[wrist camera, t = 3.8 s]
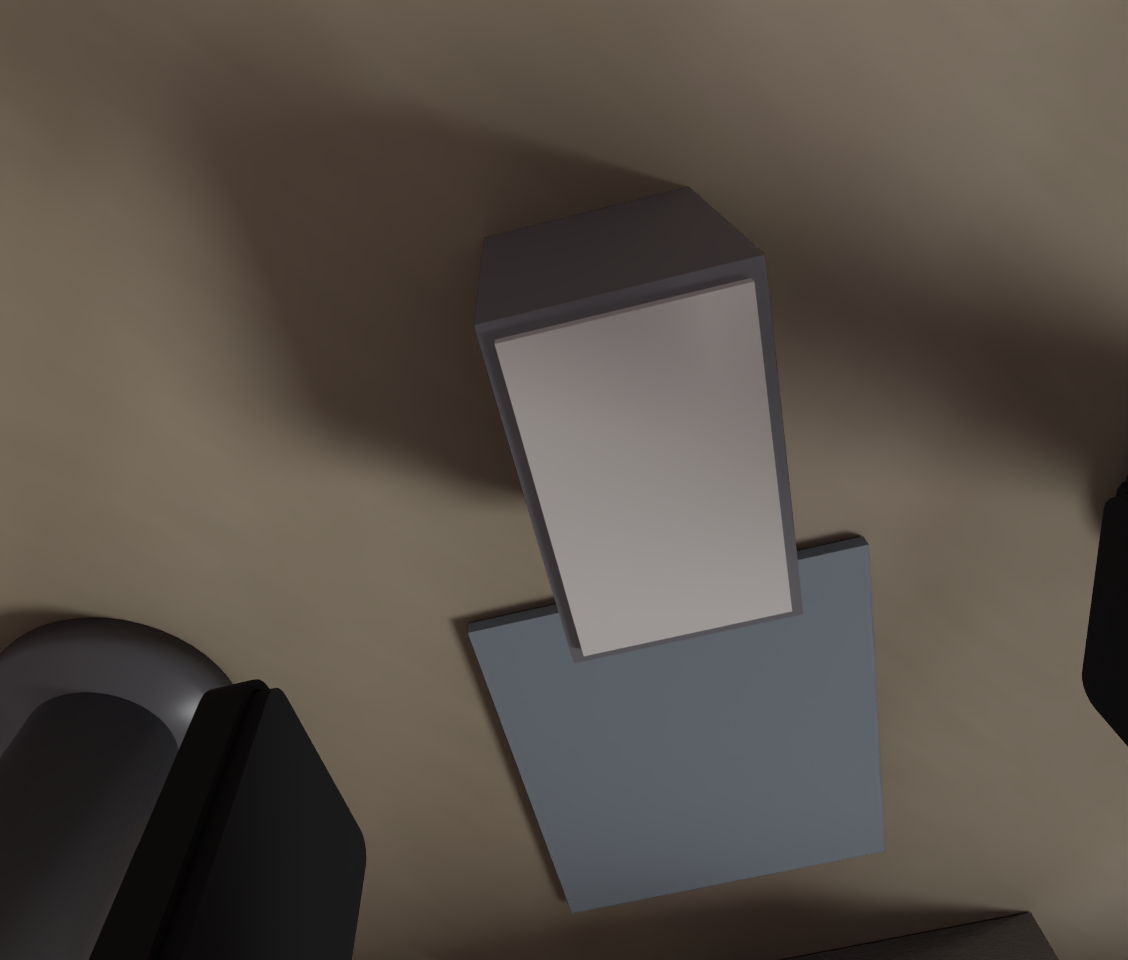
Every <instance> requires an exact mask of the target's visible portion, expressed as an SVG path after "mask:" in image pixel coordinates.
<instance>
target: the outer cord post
mask: <svg viewBox="0 0 1128 960" xmlns="http://www.w3.org/2000/svg"><path fill="white" fill-rule="evenodd" d="M228 685H233V684H232V682H231V681H230V679H229V678H228V677H227V676H226V674H225V673H224V672H223V671H222V670H221V669H220V668H219V667H218V666H217V665H216V664H215V663H214V662H213V661H212V660H210V659H209V658H208V657H207V656H206V655H204V654H203V653H201V652H200V651H199V650H197V649H196V648H194V647H193V646H191V645H189V644H187V643H186V642H184V641H182V640H180V639H179V638H176V637H174V636H172V635H169V634H167V633H165V632H163V631H160V630H157V629H154V628H151V627H148V626H145V625H141V624H136V623H132V622H128V621H121V620H114V619H100V618H85V619H71V620H65V621H60V622H55V623H52V624H48V625H45V626H41V627H39V628H37V629H34V630H32V631H30V632H28V633H26V634H24V635H23V636H21V637H20V638H18V639H16V640H15V641H14V642H13V643H12V644H10V645H9V646H8V647H7V648H6V649H5V650H4V651H3V652H2V654H1V655H0V960H89V958H90V955H91V953H92V951H93V948H94V946H95V944H96V941H97V939H98V937H99V934H100V932H101V930H102V927H103V925H104V923H105V920H106V918H107V916H108V913H109V911H110V909H111V906H112V904H113V902H114V899H115V897H116V895H117V892H118V890H119V888H120V885H121V883H122V881H123V878H124V876H125V873H126V871H127V869H128V866H129V864H130V862H131V859H132V857H133V855H134V852H135V850H136V848H137V846H138V844H139V842H140V840H141V837H142V835H143V832H144V830H145V828H146V825H147V823H148V821H149V818H150V816H151V814H152V811H153V809H154V807H155V804H156V802H157V800H158V797H159V795H160V793H161V790H162V788H163V786H164V783H165V781H166V779H167V776H168V774H169V772H170V769H171V767H172V764H173V762H174V760H175V757H176V755H177V753H178V750H179V748H180V746H181V743H182V741H183V739H184V736H185V734H186V732H187V729H188V727H189V725H190V722H191V720H192V718H193V715H194V713H195V711H196V708H197V706H198V704H199V701H200V699H201V698H202V696H203V695H204V693H206V692H207V691H209V690H211V689H215V688H219V687H224V686H228Z"/></svg>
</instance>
